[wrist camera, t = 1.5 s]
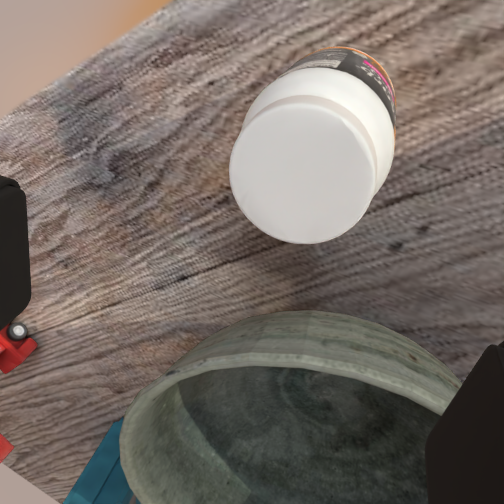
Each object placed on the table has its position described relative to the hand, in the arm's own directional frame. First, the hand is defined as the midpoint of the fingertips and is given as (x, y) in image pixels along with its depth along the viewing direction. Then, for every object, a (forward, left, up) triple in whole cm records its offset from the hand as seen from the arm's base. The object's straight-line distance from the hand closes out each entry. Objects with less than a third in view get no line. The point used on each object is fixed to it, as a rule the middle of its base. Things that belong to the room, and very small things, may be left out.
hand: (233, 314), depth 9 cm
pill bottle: (0, 0, -17) cm, 17 cm away
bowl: (+17, +5, -17) cm, 24 cm away
